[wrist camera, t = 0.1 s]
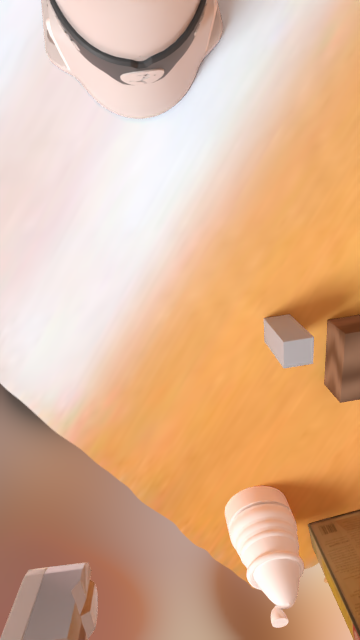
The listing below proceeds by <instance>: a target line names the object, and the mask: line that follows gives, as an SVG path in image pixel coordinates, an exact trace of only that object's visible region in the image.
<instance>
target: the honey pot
mask: <svg viewBox="0 0 360 640" xmlns="http://www.w3.org/2000/svg"><path fill="white" fill-rule="evenodd" d="M225 517H226V522H227V526H228V530H229V534H230V539H231V542H232V545H233V547H234V548H235V549H236V550H237V553H238V555H239V556H240V558H241V561H242V563H243V564H244V565H245V566H246V567H247V579H248V582H249V583H250V584H251V585H252V586H253V587H255V588H256V589H260V590H262V591H263V592H264V593H265V594H266V596H267V597H268V598H269V599H270V600H271V601H272V602H273V603H274V604H276V605H277V606H275V608H274V609H273V610H272V612H271V622H272V626H273V627H277V628H278V627H283V626H285V625H287V624H288V619H287V616H286V614H285V613H284V611H283V610H282V609H287V608H290V607H292V606H293V604H294V603H295V600H296V598H297V594H298V588H299V578H300V577H301V576H302V574H303V571H304V563H303V561H302V559H301V558H300V557H299V552H298V551H299V543H298V537H297V525H296V521H295V519H294V516H293V514H292V511H291V509H290V506H289V504H288V502H287V499H286V497H285V496H284V494H283V493H282V492H281V491H279V490H278V489H276V488H273V487H269V486H254V487H250V488H246V489H244V490H242V491H240V492H238V493H237V494H236V495H234V496H233V497H232V498H231V499H230V500H229V501H228V503H227V505H226V507H225Z"/></svg>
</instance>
